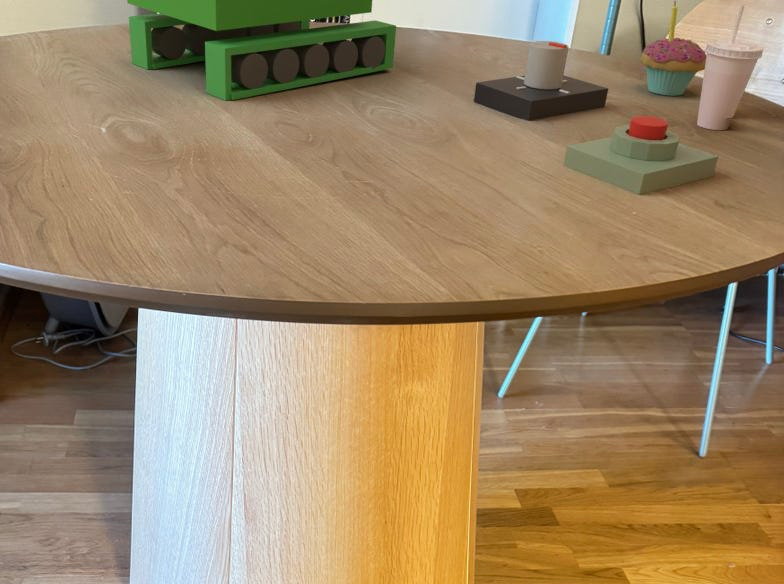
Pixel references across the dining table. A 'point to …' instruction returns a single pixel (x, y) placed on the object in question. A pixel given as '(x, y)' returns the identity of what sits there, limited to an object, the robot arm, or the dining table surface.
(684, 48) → the cupcake
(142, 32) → the tank
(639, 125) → the power button
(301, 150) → the dining table surface
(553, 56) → the timer dial
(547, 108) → the timer panel
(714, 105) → the smoothie
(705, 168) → the switch block
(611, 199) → the dining table surface
